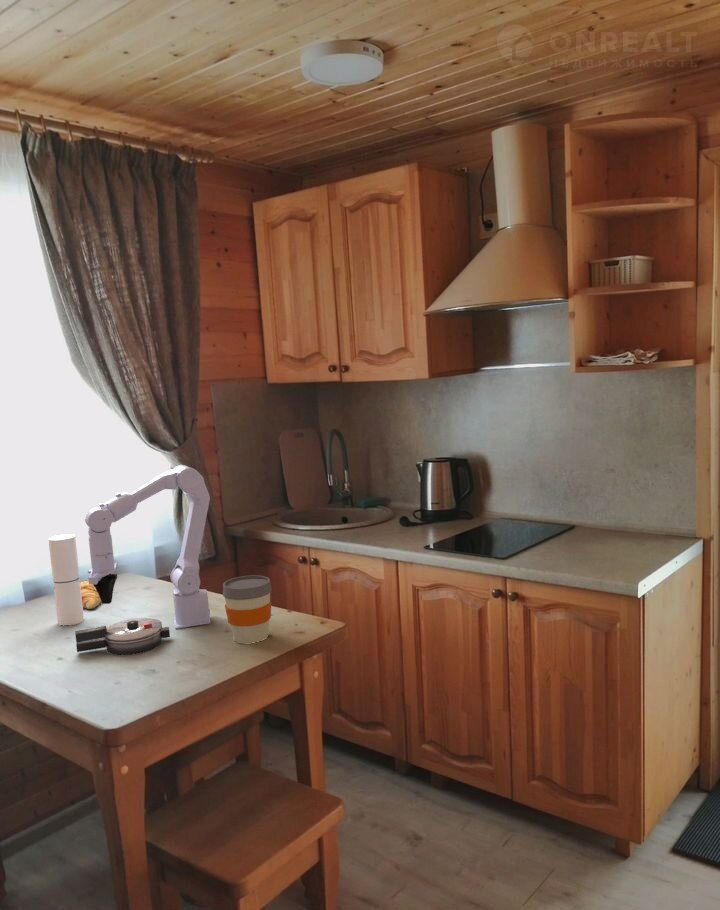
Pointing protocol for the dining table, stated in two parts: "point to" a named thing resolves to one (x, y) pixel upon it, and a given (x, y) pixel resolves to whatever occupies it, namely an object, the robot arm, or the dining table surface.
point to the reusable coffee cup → (248, 607)
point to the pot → (125, 644)
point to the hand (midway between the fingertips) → (106, 603)
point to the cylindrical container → (66, 579)
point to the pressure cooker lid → (122, 630)
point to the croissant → (89, 595)
